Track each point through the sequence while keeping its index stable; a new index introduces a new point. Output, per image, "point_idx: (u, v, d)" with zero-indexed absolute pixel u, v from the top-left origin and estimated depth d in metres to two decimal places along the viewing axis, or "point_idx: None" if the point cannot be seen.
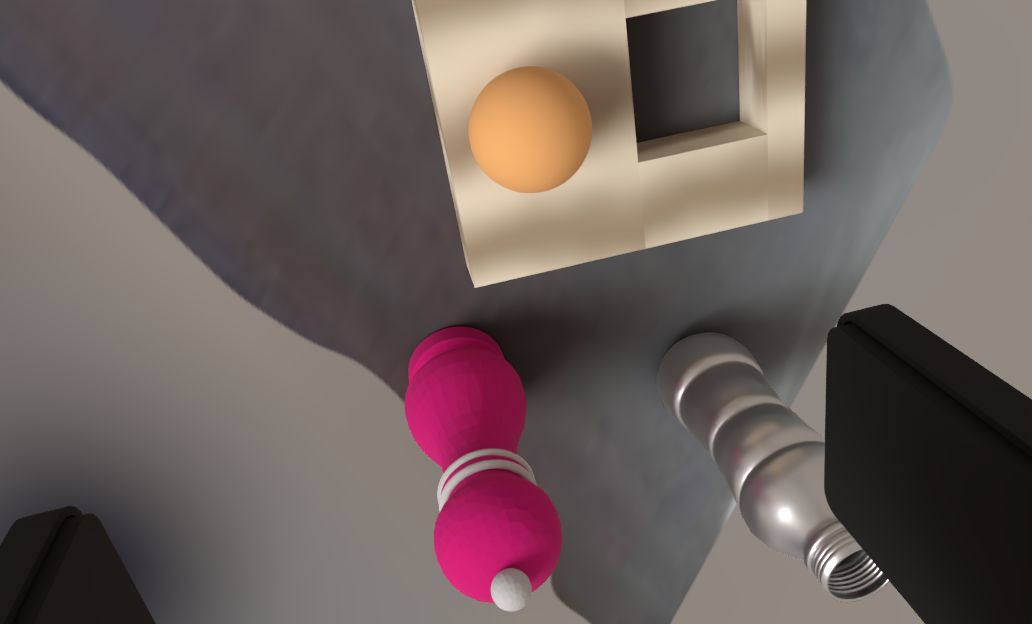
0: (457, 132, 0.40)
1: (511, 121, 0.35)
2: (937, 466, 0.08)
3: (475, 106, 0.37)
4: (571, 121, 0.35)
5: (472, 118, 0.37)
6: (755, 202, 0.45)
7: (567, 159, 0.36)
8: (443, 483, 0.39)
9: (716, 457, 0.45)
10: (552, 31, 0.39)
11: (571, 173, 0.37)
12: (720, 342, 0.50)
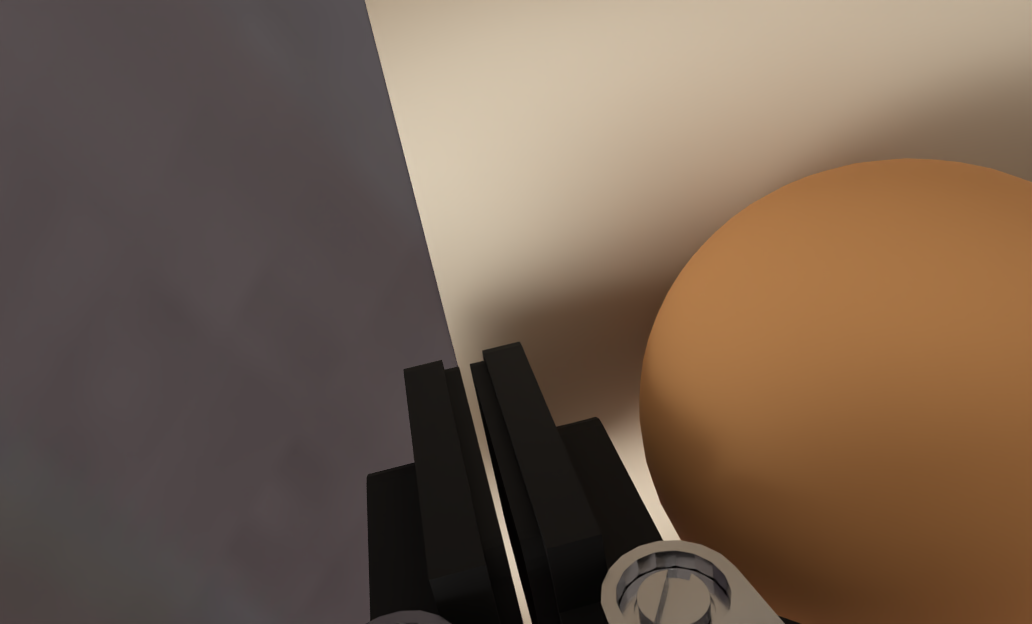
0: None
1: (1007, 505, 0.07)
2: (504, 498, 0.09)
3: (717, 397, 0.08)
4: None
5: (711, 452, 0.08)
6: None
7: None
8: None
9: None
10: (865, 7, 0.10)
11: None
12: None
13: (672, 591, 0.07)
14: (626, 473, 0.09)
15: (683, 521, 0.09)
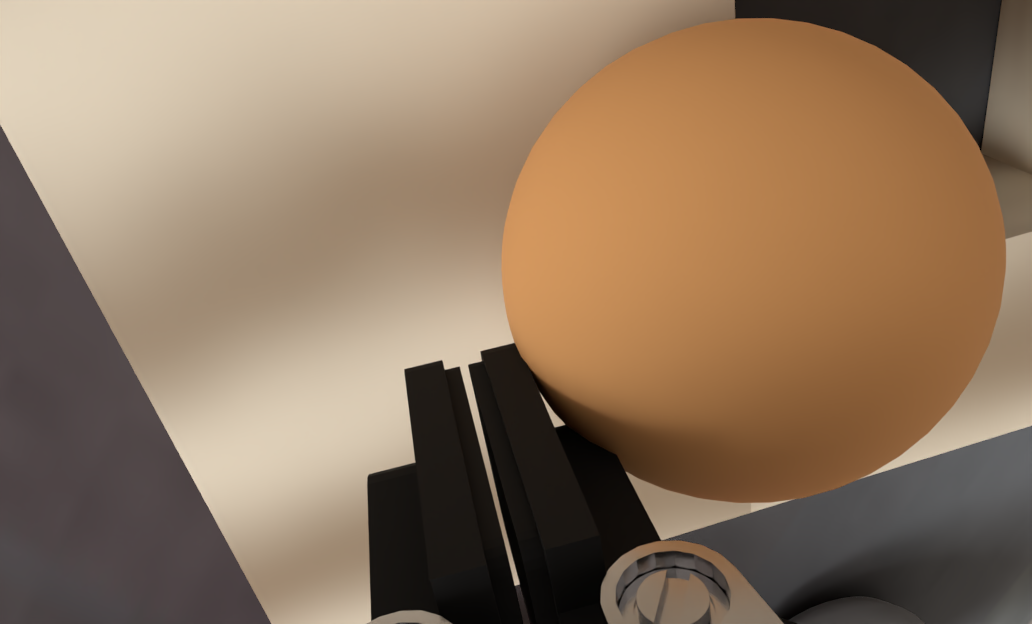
0: (138, 272, 0.11)
1: (959, 291, 0.08)
2: (502, 498, 0.09)
3: (709, 397, 0.08)
4: None
5: (735, 438, 0.08)
6: None
7: None
8: None
9: None
10: None
11: None
12: None
13: (671, 592, 0.07)
14: (625, 474, 0.09)
15: (722, 493, 0.09)
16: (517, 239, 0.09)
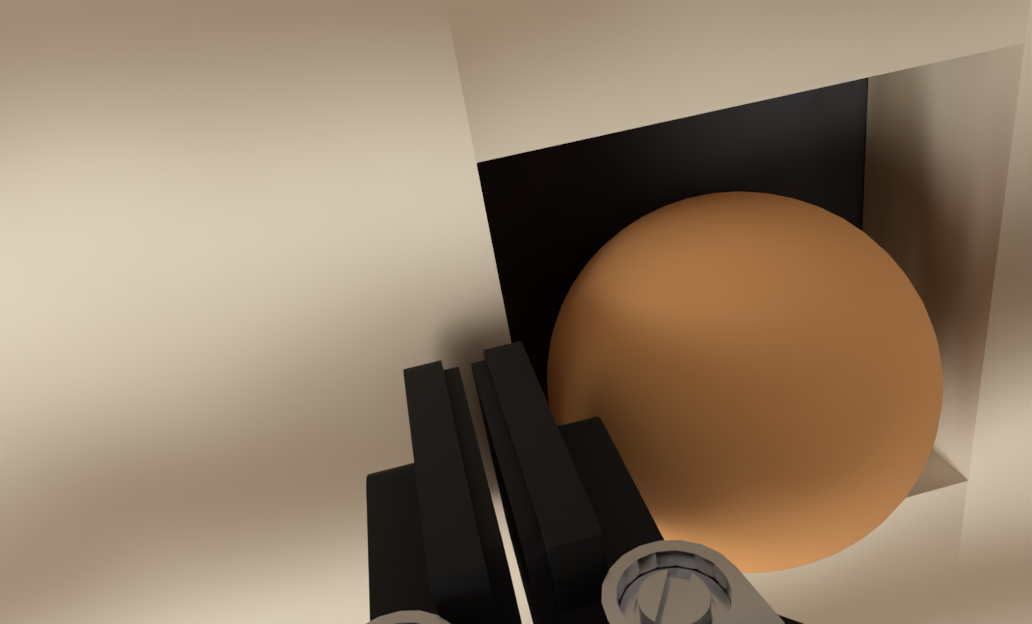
0: None
1: (912, 486, 0.11)
2: (505, 497, 0.09)
3: (745, 568, 0.11)
4: (915, 291, 0.11)
5: (754, 572, 0.12)
6: None
7: None
8: None
9: None
10: (167, 225, 0.09)
11: None
12: None
13: (673, 590, 0.07)
14: (627, 473, 0.09)
15: None
16: None
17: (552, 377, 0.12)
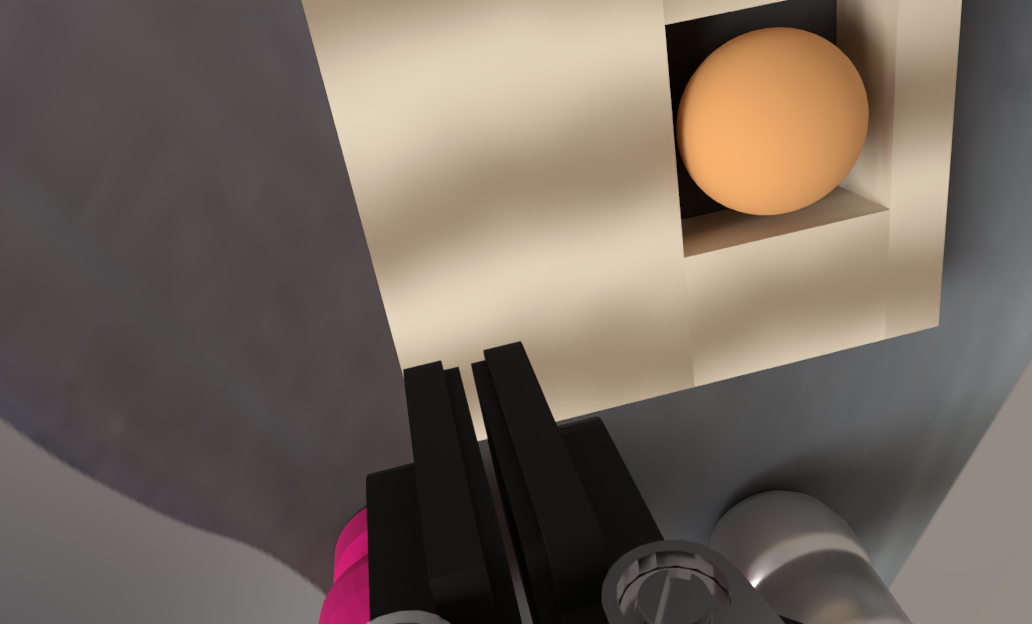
0: (384, 215, 0.24)
1: (856, 135, 0.24)
2: (506, 497, 0.09)
3: (782, 177, 0.24)
4: None
5: (787, 189, 0.24)
6: (866, 313, 0.29)
7: None
8: None
9: None
10: (541, 48, 0.23)
11: None
12: (804, 513, 0.33)
13: (674, 590, 0.07)
14: (628, 473, 0.09)
15: (774, 210, 0.25)
16: (703, 124, 0.24)
17: (681, 117, 0.25)
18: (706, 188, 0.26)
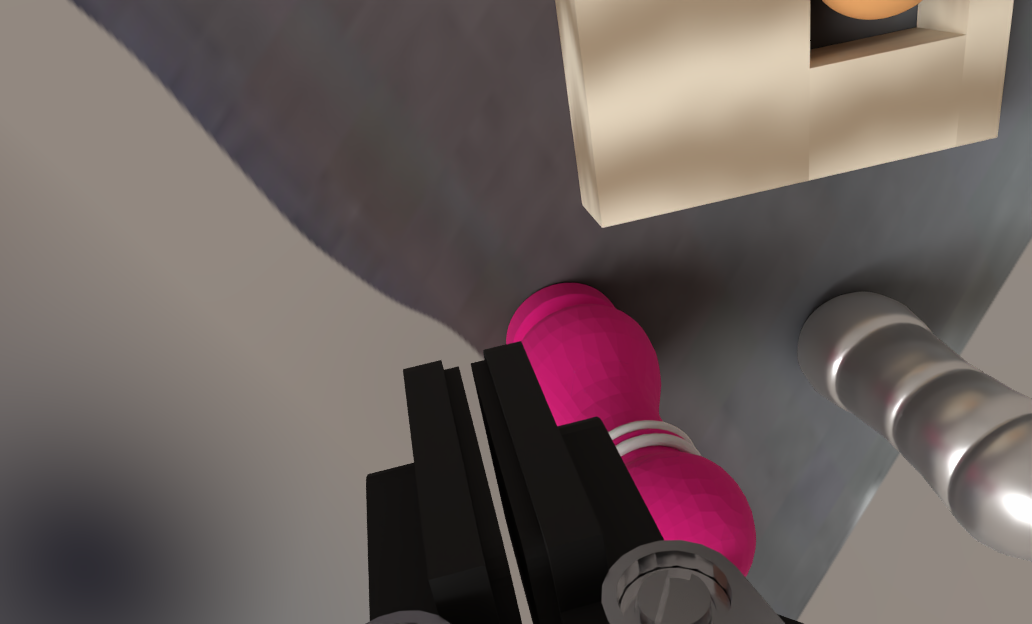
0: (595, 22, 0.32)
1: None
2: (505, 497, 0.09)
3: None
4: None
5: None
6: (943, 123, 0.37)
7: None
8: None
9: (901, 437, 0.36)
10: None
11: None
12: (882, 301, 0.41)
13: (673, 590, 0.07)
14: (627, 472, 0.09)
15: None
16: None
17: None
18: None
